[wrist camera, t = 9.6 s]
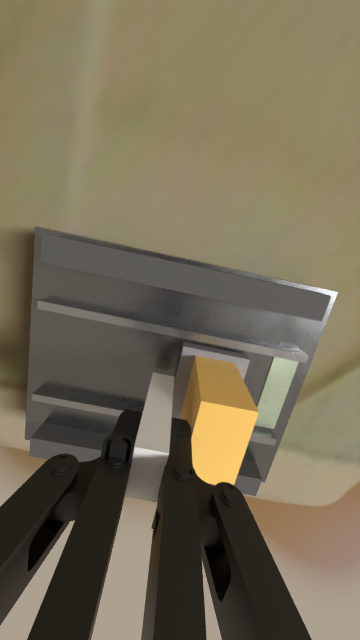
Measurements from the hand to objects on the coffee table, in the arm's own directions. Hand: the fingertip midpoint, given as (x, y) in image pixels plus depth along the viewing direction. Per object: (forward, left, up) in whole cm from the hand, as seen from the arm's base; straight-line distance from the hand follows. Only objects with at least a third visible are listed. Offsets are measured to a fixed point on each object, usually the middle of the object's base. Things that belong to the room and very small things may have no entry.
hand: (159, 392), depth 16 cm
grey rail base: (0, 0, -7) cm, 7 cm away
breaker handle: (0, +4, -3) cm, 4 cm away
